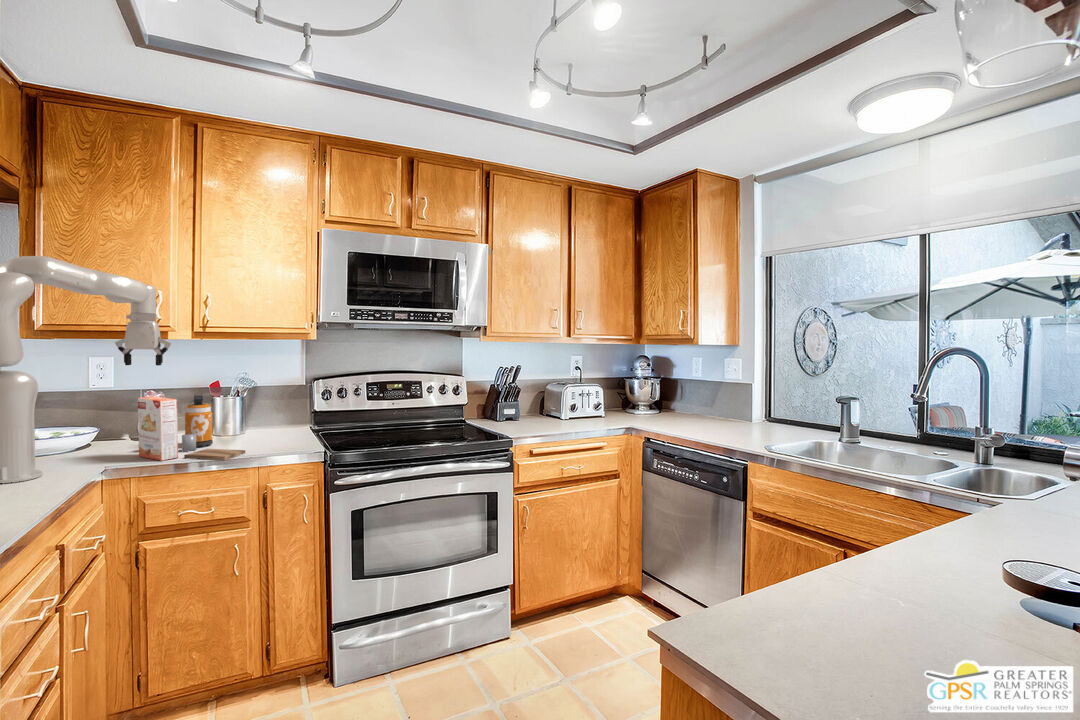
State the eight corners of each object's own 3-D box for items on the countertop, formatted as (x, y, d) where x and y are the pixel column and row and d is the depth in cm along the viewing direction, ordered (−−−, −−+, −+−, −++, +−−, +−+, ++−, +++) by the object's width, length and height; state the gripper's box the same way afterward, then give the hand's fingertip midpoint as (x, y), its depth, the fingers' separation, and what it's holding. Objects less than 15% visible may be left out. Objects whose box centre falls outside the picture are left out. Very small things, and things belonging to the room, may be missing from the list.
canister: (186, 449, 203) (185, 396, 203) (184, 444, 212) (183, 393, 212) (213, 446, 209) (213, 394, 208) (210, 441, 218) (210, 392, 217)
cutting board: (224, 460, 186) (224, 456, 186) (184, 458, 188) (184, 455, 188) (245, 453, 197) (245, 450, 197) (207, 451, 199) (207, 448, 199)
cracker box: (137, 457, 189) (136, 397, 188) (156, 454, 194) (155, 395, 194) (159, 461, 183) (159, 400, 182) (178, 458, 188) (178, 398, 187)
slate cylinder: (190, 452, 198) (190, 436, 198) (179, 452, 198) (178, 435, 198) (199, 450, 202) (198, 434, 202) (188, 449, 203) (187, 433, 202)
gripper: (110, 317, 193) (110, 365, 193) (166, 318, 197) (166, 365, 198) (121, 318, 200) (121, 364, 200) (174, 319, 204) (174, 365, 205)
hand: (143, 365), depth 199 cm, fingers open, 9 cm apart
